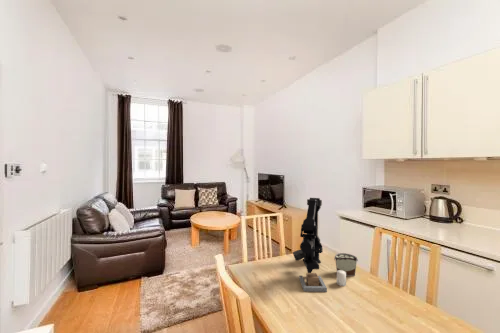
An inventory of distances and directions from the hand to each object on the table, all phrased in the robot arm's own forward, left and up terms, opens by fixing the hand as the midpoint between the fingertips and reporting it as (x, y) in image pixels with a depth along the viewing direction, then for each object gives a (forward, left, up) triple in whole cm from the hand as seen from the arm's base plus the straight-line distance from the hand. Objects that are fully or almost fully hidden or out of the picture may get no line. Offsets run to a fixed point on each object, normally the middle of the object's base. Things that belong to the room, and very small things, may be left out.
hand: (309, 274), depth 123 cm
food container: (-5, +21, -1) cm, 22 cm away
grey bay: (+8, 0, -1) cm, 8 cm away
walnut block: (+8, 0, -1) cm, 8 cm away
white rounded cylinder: (+7, +15, -1) cm, 16 cm away
